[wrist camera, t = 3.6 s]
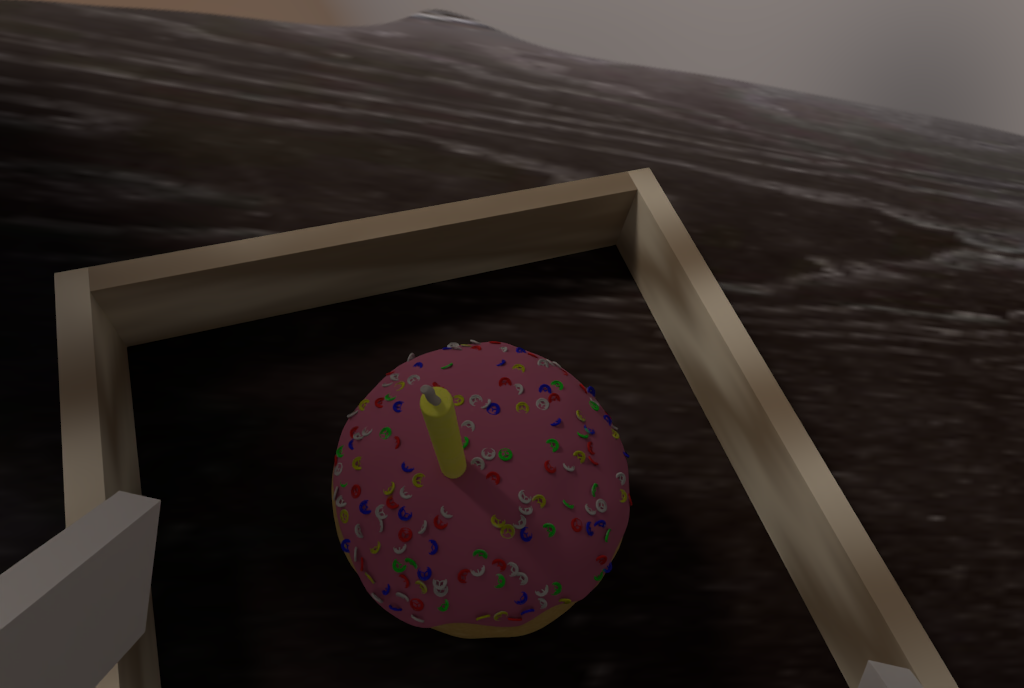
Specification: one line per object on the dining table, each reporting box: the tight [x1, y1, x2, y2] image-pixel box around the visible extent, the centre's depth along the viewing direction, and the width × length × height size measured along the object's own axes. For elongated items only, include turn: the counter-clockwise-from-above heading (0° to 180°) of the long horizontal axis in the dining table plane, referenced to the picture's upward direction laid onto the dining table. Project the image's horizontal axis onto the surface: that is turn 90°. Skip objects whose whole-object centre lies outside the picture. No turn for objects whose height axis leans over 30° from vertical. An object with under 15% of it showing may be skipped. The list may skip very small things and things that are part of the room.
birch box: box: [54, 168, 959, 688], centre depth 22 cm, size 22×22×4 cm
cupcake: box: [332, 340, 632, 639], centre depth 19 cm, size 9×8×12 cm
